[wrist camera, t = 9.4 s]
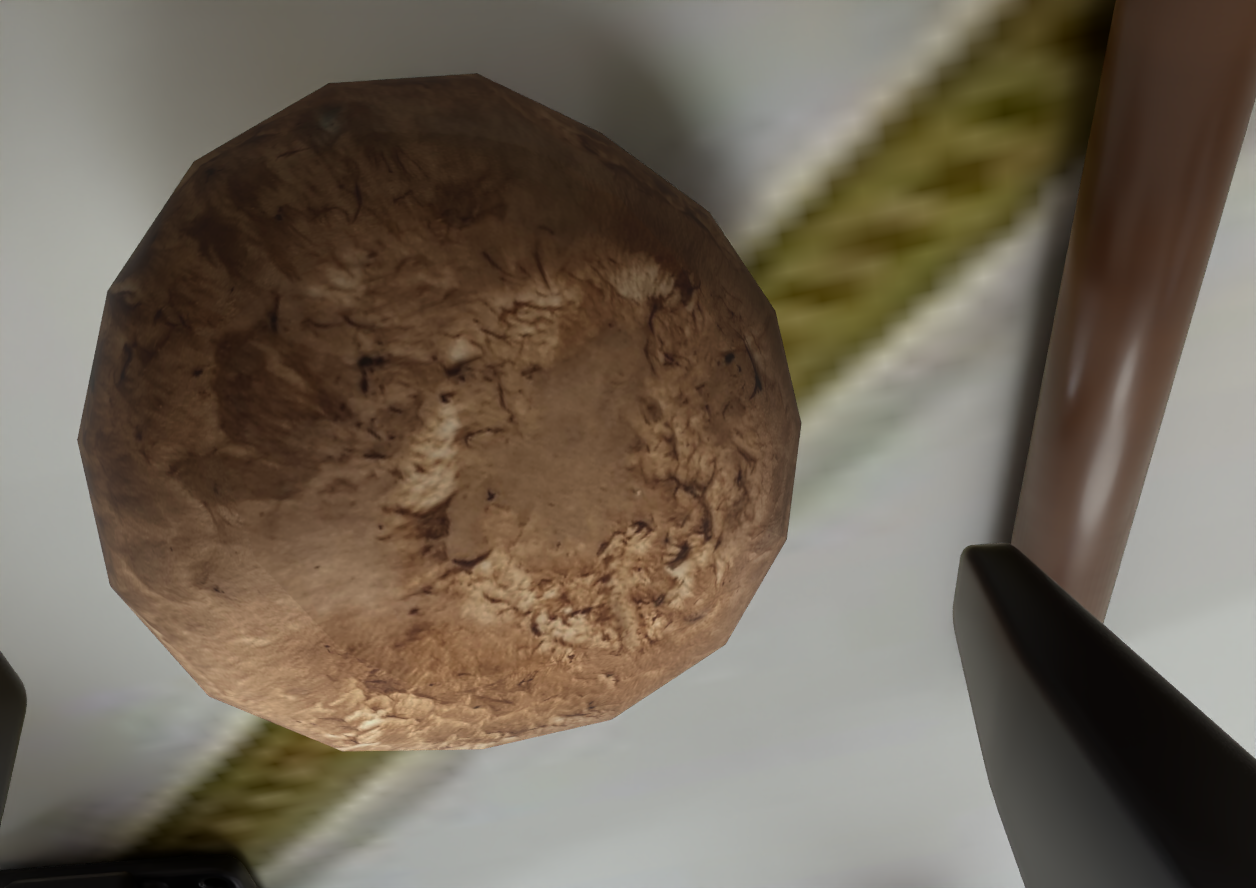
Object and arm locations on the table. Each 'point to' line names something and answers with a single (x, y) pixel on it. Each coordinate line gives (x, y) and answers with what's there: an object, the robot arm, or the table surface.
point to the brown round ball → (436, 422)
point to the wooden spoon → (1132, 276)
